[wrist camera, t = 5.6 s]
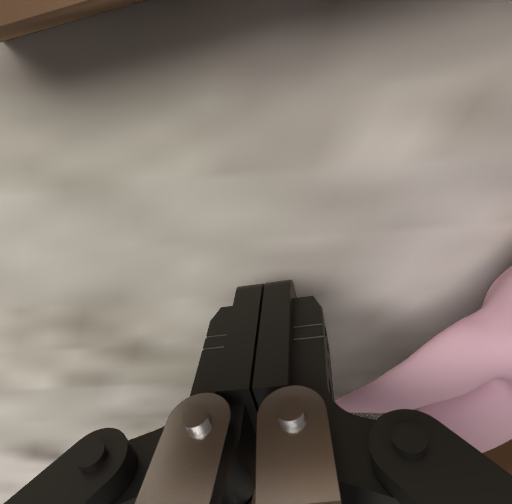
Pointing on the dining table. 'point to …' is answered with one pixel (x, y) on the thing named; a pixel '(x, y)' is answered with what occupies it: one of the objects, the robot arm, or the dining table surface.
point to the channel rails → (91, 3)
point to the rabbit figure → (456, 375)
